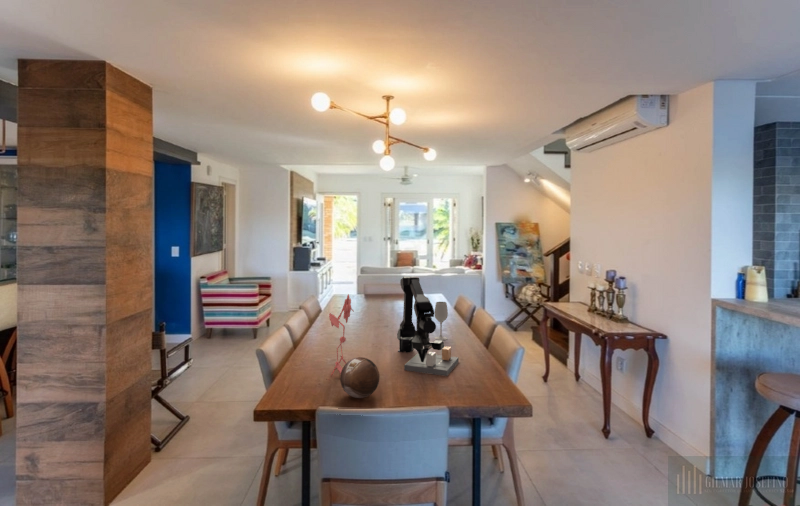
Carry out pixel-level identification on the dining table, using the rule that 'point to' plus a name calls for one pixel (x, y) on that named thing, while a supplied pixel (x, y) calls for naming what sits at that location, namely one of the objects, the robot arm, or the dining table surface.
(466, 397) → the dining table surface
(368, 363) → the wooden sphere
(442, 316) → the wineglass
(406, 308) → the robot arm
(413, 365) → the console board
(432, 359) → the white fader
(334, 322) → the figurine
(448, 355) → the orange fader
